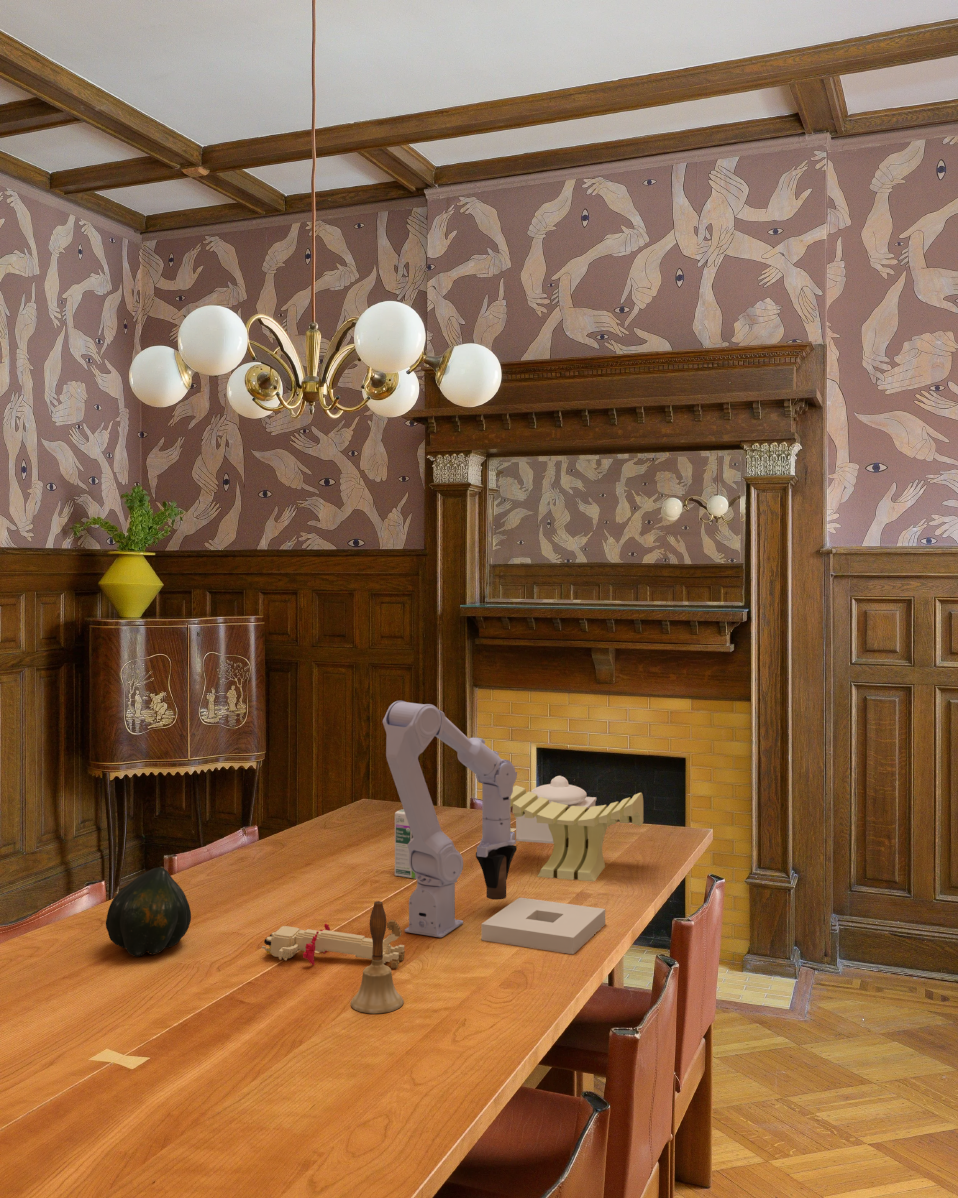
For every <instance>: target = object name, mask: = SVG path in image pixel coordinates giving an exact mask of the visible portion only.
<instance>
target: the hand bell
mask: <svg viewBox="0 0 958 1198" xmlns="http://www.w3.org/2000/svg"><path fill="white" fill-rule="evenodd" d="M370 912H371V913H370V916H369V917H370V918H369V933H370V935H371V939H372V940H373V952H372V954H373V955H372V959H371V964H370V965H367V966H366V967H365V968H364V969H363V971H362V977H361V984H360V987H359V989H358V992H357V993H356V994H355V995H354V996H353V997H352V998H351V1001H350V1006H351V1008H353V1010H355V1011H358V1012H360V1013H363V1014H364V1013H365V1014H376V1015H377V1014H385V1013H390V1012H395V1011H396V1010H399V1009H400V1008H401V1007H402V1006H403V1005H404V1003H405V1001H404V999H403V997H402V995H401V994H400V993H399V992H398V991H397V989H396V987H395V985H394V981H393V973H392V968H391V967H389V966H388V965H385V963H384V964H383V959H382V958H383V955H382V954H383V940H384V939H385V935H386V930H387V915H386V912H385V908H384V904H383V901H380V900H376V901H374V904H373V907H372V910H371V911H370Z"/></svg>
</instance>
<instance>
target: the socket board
mask: <svg viewBox="0 0 958 1198" xmlns="http://www.w3.org/2000/svg"><path fill="white" fill-rule="evenodd" d="M605 925H606V909H605V908H602V907H601V908H600V907H593V906H586V905H578V904H572V903H564V902H558V901H548V900H541V899H536V898H535V899H533V898H525V897H518V898H517V899H515V900H513V902H511V903H509V904H507V905H506V906H505V907H504V908H502V909H501V910H499V911H498V912H497V913H495V914H493V915H492V916H491V917H489V918H488V919H486V920H485V921H484V922H482V923H481V934H480V935H481V941H483V942H484V941H485V942H490V943H498V944H505V945H511V946H516V947H524V948H528V949H529V948H530V949H536V950H542V951H549V952H556V953H563V954H566V955H568V954H569V955H575V954H576V953H577V952H578V951H579V950H580V949H581V948H582V947H583V946H584V945H586V943H587V942H589V941H590V940H591V939H592V938H593V937H594V934H595V935H596V934H597V933H598V932H599V931H600V930H602V928H603V927H604V926H605ZM601 927H602V928H601ZM597 931H598V932H597ZM596 932H597V933H596Z"/></svg>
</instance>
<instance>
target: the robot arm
mask: <svg viewBox="0 0 958 1198" xmlns="http://www.w3.org/2000/svg"><path fill="white" fill-rule="evenodd" d="M382 724H383V728H384V731H385V733H386V742H385V743H386V744H385V745H386V746H385V748H386V749H385V757H386V761H387V763H388V767H389V770H390V773H391V776H392V779H393V782H394V785H395V787H396V790H397V794H398V796H399V800H400V803H401V804H402V805H401V807H402V808H403V809H404V812H405V815H406V817H407V820H408V823H409V826H410V829H411V832H412V835H413V838H412V839H411V840H410V842H409V843H408V845H407V846H408V849H409V865H410V868H411V870H412V871H413V872H414V873H415V879H414V880H417V881H416V882H417V883H416V888H415V890H414V891H413V892H412V893H411V894H410V897H409V898H408V899H409V900H408V927H406V928H405V929H404V932H405V933H411V934H416V935H423V936H429V937H436V938H443V937H445V936H446V935H448V934H449V933H451V932H453V930H455V929H457V928H458V927H460V926H461V925H463V924H464V920H460V919H456V913H455V912H456V901H455V900H456V889H455V888H456V883H458V879H459V878H460V876H461V875H462V872H463V870H464V859H463V856H462V853H460V852H459V850H457V848H456V846H455V844H454V842H453V840H452V839H451V838H450V837H449V836H448V835H447V834H446V833H444V832H443V830H442V828H441V825H440V822H439V819H438V816H437V814H436V813H437V812H436V810H435V807H434V803H433V801H432V797H431V795H430V792H429V789H428V785H427V783H426V779H425V776H424V773H423V770H422V768H421V765H420V762H419V761H420V760H419V756H420V755H421V754H422V753H424V751H425V750H426V749H427V747H428V746H429V744H430V743H431V742H432V740H433V739H434V738H435V737H436V738H437V739H439V740H440V741H441V742H443V743H444V744H445V745H447V746H449V747H450V748H452V749H453V750H454V751H456V753H457V760H458V761H459V762H460V763H461V764H462V765H463V766H465V768H467V769H469V771H471V772H473V774H475V777H476V781H477V783H479V784H482V786H481V788H482V789H481V790H482V791H481V792H482V794H481V795H482V799H481V800H482V810H481V811H482V815H481V817H482V818H481V819H482V822H481V823H482V824H481V825H482V826H481V827H482V833H481V835H482V836H481V837H482V838H481V839H480V843H479V844H478V845H477V846H476V852H475V859H476V860H477V861H478V863H479V865H480V867H481V870H482V873H483V879H484V882H485V887H486V888H487V887H488V888H497V886H498V880H499V871H500V866H501V863H502V860H503V858H504V856H506V881H507V880H508V876H509V871H510V866H511V864H512V860H513V858H514V856H515V854H516V852H517V848H518V847H517V845H516V844H517V841H516V831H511V829H512V828H511V825H512V823H511V820H512V819H511V812H512V810H511V808H512V807H511V795H512V793H513V787H514V786H515V785H514V784H515V783H516V780H517V778H518V777H517V776H518V772H517V771H516V769H515V766H514V764H513V763H512V762H511V761H510V760H509V759H504V758H501V757H500V755H499V754H500V753H499V752H497V751H495V750H492V749H491V747H490V748H489V747H488V745H486V740H485V739H484V738H480V737H467V735H466V734H464V733H463V731H461V730H460V729H459V728H458V726H456V725H455V724H454V723H453V722H452V721H451V720H449V718H447V716H446V715H445V712H443V711H442V710H440V709H439V708H438V707H437V706H435V705H434V704H431V703H425V704H423V703H416V702H409V701H408V702H407V701H405V700H396V701H394V702H393V703H391V704H390V705H389V706H388V709H387V710H386V713H385V715H384V717H383V719H382Z"/></svg>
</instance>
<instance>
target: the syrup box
mask: <svg viewBox="0 0 958 1198" xmlns="http://www.w3.org/2000/svg"><path fill="white" fill-rule="evenodd" d="M412 838H413V835H412V832H411V829H410V826H409V823H408V820H407V817H406V815H405V812H404V809H402V808H401V809H399V810H397V811H396V812H395V813H394V876H395V877H403V878H408V879H410V878H411V879H414V880H416V879H415V873H414V872H413V871H412V870H411V868H410V865H409V849H408V846H407V845H408V843H409V842H410V840H411V839H412Z"/></svg>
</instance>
